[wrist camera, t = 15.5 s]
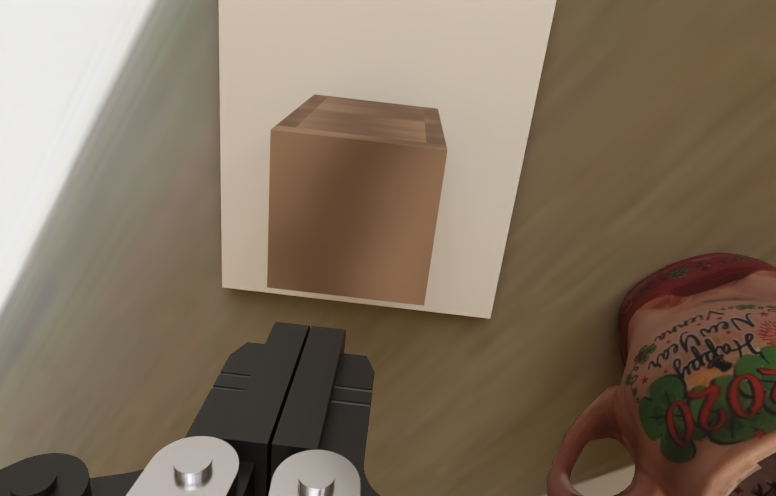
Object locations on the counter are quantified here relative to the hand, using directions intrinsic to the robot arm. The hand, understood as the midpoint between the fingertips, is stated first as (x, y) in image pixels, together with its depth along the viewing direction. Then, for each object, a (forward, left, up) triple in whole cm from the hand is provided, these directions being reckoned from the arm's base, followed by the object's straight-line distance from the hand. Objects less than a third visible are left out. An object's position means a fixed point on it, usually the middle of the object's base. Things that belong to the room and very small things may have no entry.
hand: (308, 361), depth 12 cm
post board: (0, 0, -20) cm, 20 cm away
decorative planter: (-19, +9, -21) cm, 30 cm away
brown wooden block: (0, 0, -17) cm, 17 cm away
